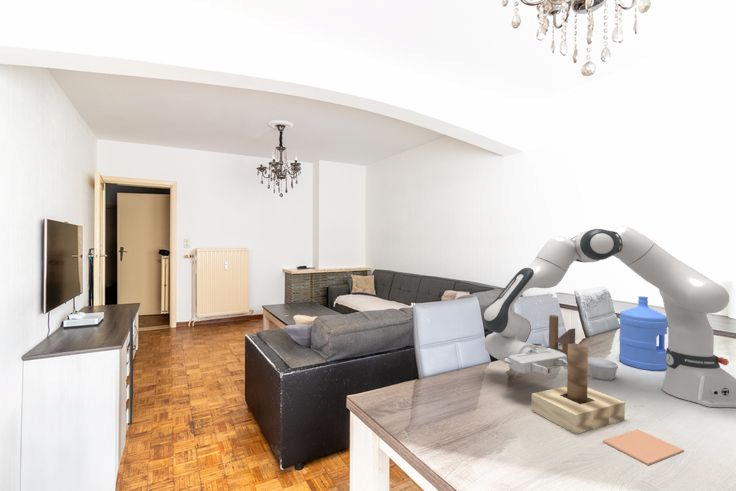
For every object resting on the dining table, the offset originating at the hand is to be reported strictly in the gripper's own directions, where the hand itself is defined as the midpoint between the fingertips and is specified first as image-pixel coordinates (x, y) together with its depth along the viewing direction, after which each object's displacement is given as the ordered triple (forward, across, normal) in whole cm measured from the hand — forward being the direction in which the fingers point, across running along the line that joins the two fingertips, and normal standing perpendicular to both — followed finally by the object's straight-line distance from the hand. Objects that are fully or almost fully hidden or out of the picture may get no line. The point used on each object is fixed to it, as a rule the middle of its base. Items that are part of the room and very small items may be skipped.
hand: (559, 369), depth 106 cm
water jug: (-14, +66, +12) cm, 68 cm away
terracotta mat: (+23, 0, +11) cm, 25 cm away
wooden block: (-32, +41, +12) cm, 53 cm away
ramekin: (-12, +37, +12) cm, 41 cm away
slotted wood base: (+6, 0, +11) cm, 13 cm away
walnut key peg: (+6, 0, +11) cm, 13 cm away
